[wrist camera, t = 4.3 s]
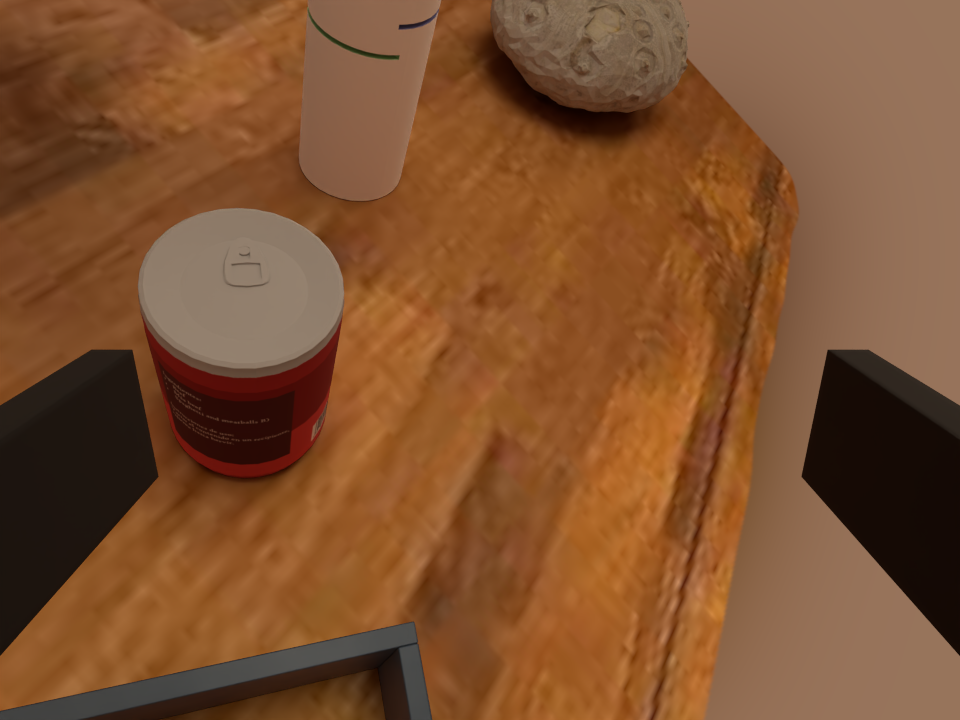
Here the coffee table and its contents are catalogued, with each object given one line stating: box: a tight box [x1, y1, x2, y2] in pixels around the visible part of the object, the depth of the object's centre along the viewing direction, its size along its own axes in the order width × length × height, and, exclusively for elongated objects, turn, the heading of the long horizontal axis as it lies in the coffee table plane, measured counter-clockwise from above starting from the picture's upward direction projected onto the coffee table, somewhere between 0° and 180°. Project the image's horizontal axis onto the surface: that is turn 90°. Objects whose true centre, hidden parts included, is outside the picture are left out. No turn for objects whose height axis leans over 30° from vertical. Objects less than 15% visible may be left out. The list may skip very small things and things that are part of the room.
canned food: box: [138, 208, 344, 478], centre depth 29 cm, size 8×8×11 cm
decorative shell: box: [491, 0, 689, 113], centre depth 56 cm, size 18×18×10 cm
